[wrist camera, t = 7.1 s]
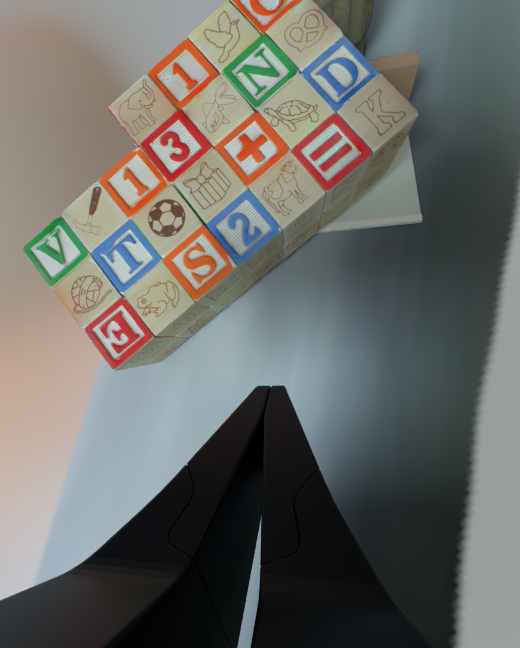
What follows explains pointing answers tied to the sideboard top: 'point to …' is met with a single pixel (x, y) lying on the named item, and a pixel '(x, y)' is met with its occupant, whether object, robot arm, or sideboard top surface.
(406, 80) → the dock pad
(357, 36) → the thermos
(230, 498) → the robot arm
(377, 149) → the stack of blocks
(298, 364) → the sideboard top surface
